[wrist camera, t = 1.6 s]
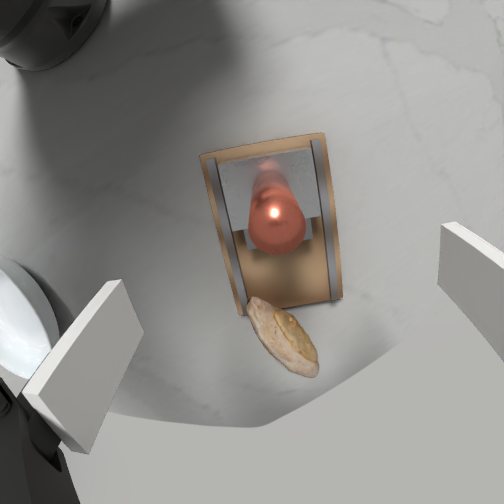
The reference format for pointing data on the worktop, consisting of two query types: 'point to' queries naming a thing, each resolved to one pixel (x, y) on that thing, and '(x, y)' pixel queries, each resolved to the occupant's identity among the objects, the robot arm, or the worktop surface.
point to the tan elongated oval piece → (283, 337)
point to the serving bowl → (24, 321)
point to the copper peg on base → (272, 198)
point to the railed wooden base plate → (286, 265)
